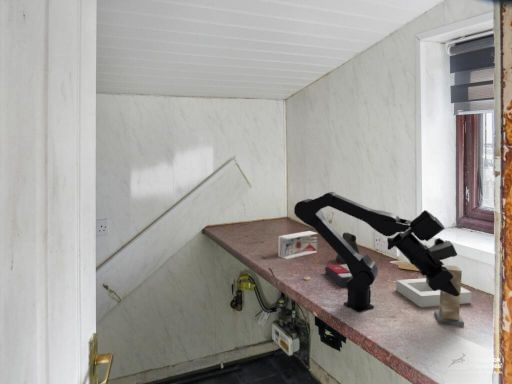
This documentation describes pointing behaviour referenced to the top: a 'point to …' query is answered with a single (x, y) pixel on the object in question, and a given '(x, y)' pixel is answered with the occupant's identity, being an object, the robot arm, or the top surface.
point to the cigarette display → (297, 244)
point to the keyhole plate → (425, 292)
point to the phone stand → (351, 241)
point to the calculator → (338, 274)
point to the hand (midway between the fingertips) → (455, 292)
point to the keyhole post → (450, 301)
